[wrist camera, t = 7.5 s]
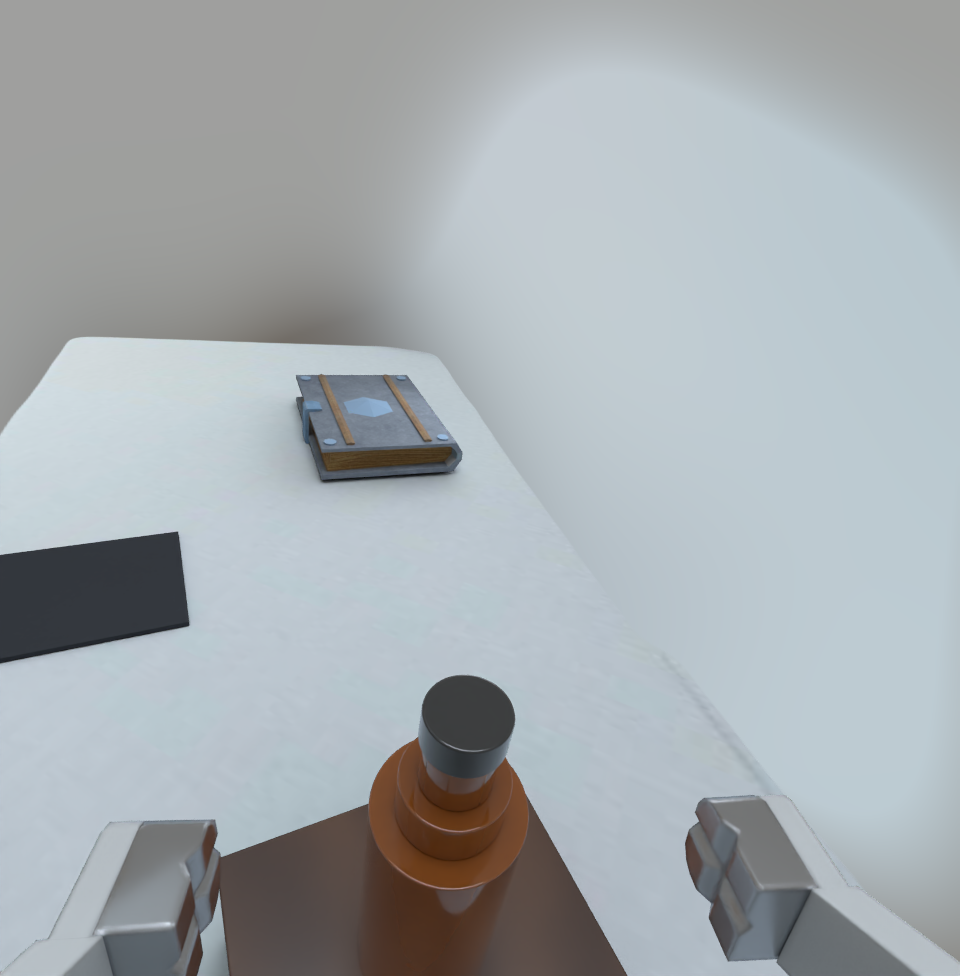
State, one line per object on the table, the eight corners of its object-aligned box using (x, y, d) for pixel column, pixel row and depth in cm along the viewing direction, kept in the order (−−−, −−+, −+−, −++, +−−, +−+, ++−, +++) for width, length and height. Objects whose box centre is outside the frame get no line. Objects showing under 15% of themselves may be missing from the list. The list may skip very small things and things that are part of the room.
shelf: (273, 1323, 20) (266, 1285, 16) (226, 937, 29) (215, 858, 25) (606, 1084, 26) (652, 1020, 23) (483, 829, 35) (503, 753, 31)
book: (459, 473, 71) (464, 436, 68) (317, 483, 65) (317, 442, 62) (410, 402, 87) (413, 369, 85) (293, 404, 81) (292, 369, 78)
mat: (-50, 672, 39) (-52, 668, 38) (-18, 561, 47) (-19, 557, 47) (189, 625, 45) (188, 621, 45) (178, 534, 54) (178, 531, 53)
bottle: (381, 1048, 21) (417, 829, 14) (340, 896, 25) (354, 666, 18) (509, 976, 23) (594, 758, 16) (454, 847, 27) (504, 628, 20)
